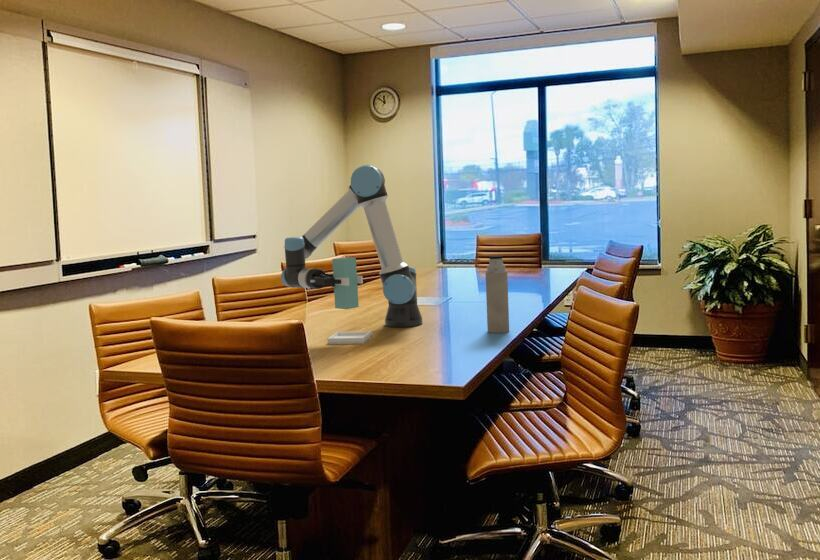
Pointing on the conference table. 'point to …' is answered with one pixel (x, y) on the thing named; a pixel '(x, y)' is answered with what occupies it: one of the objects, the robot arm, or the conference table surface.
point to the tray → (350, 337)
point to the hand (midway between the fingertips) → (355, 280)
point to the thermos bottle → (497, 296)
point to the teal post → (345, 294)
